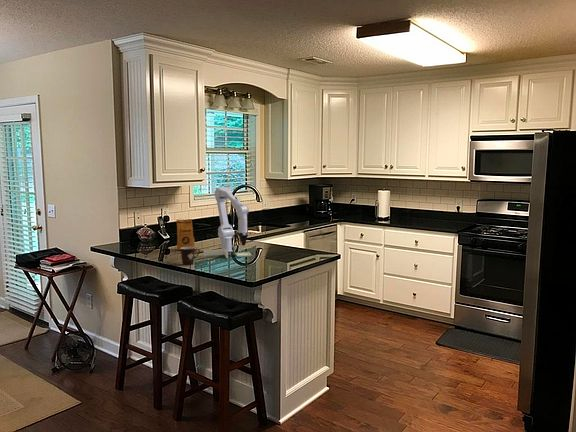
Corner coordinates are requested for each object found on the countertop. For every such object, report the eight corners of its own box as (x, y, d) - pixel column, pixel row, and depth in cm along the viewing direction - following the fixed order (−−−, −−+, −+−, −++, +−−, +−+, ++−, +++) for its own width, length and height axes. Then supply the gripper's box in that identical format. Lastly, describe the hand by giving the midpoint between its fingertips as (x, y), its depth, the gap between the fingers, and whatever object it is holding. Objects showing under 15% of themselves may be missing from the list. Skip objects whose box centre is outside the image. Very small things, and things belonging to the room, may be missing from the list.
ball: (239, 246, 311) (239, 240, 310) (245, 246, 312) (245, 240, 311) (240, 247, 307) (240, 241, 307) (246, 247, 308) (246, 241, 307)
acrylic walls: (203, 255, 310) (203, 250, 309) (225, 254, 313) (225, 249, 313) (205, 259, 297) (204, 254, 297) (227, 258, 301) (227, 252, 300)
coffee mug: (180, 266, 279) (180, 249, 278) (180, 263, 287) (180, 247, 286) (200, 264, 281) (200, 248, 280) (200, 262, 290) (199, 246, 289)
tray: (235, 254, 313) (235, 253, 313) (249, 253, 316) (249, 252, 315) (237, 256, 304) (237, 255, 304) (251, 256, 307) (251, 254, 307)
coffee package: (194, 250, 328) (193, 219, 326) (176, 251, 326) (175, 220, 324) (195, 248, 338) (194, 217, 336) (177, 249, 336) (176, 218, 333)
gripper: (235, 223, 314) (235, 243, 315) (238, 225, 300) (238, 246, 301) (245, 222, 315) (246, 242, 317) (249, 225, 302) (249, 246, 303)
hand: (243, 244), depth 309 cm, fingers closed on ball, 4 cm apart
